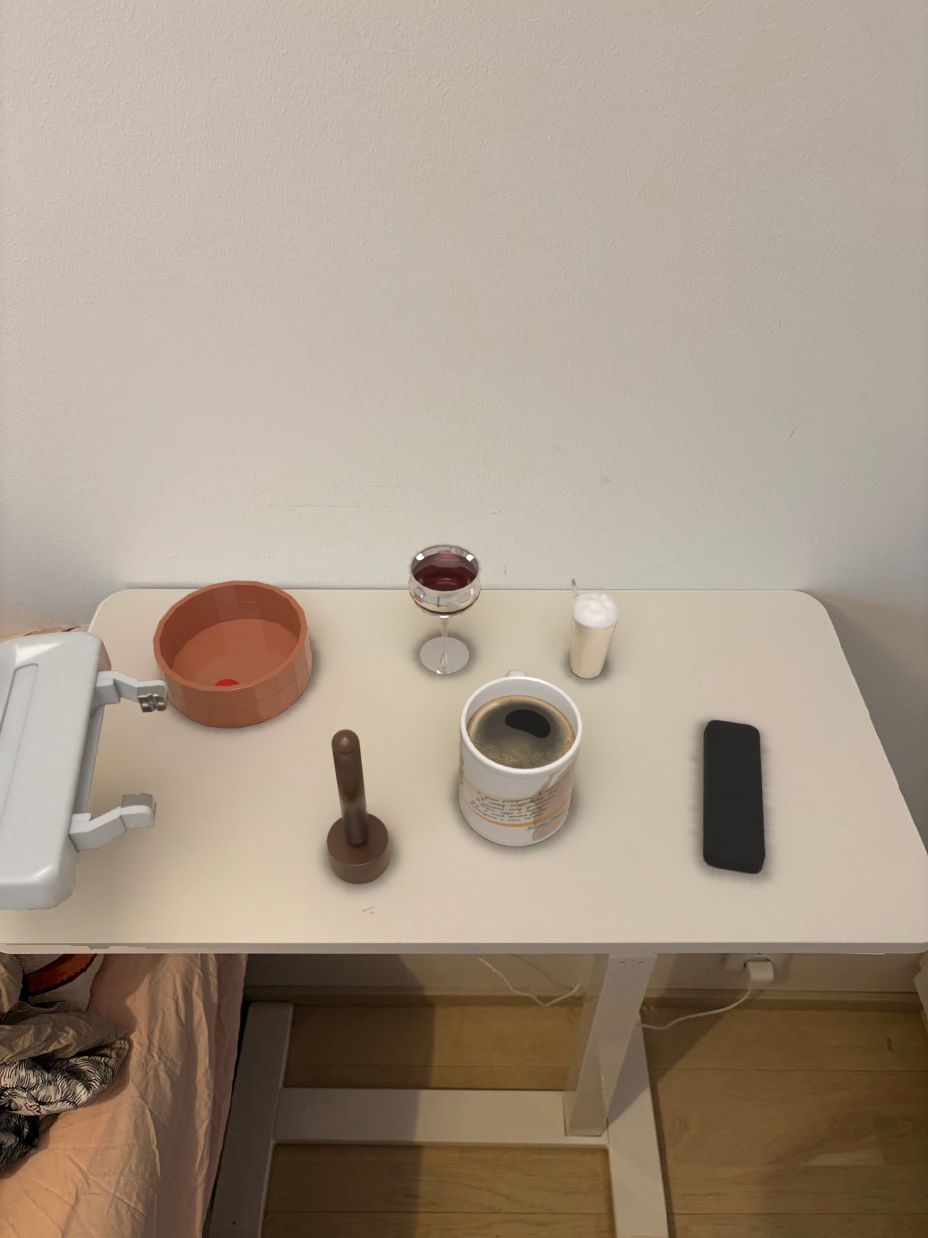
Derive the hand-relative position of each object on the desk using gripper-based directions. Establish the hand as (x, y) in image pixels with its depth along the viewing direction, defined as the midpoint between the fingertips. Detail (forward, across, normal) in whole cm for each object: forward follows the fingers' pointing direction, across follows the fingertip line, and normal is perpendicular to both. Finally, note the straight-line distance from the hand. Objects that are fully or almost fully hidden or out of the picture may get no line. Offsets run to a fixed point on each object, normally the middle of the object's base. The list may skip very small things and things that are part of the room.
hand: (160, 749), depth 63 cm
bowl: (+2, +23, +19) cm, 30 cm away
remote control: (+45, +3, +19) cm, 49 cm away
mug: (+27, +6, +19) cm, 33 cm away
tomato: (+1, +18, +17) cm, 25 cm away
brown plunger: (+12, +1, +19) cm, 22 cm away
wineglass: (+22, +23, +19) cm, 37 cm away
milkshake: (+36, +20, +19) cm, 45 cm away
